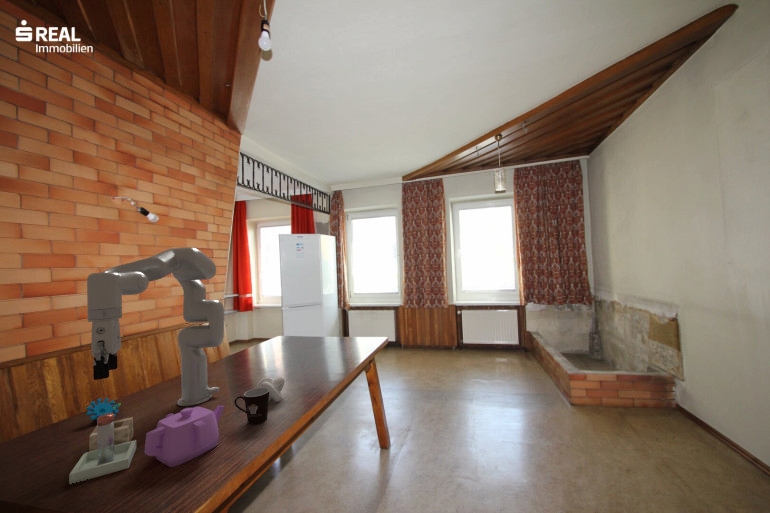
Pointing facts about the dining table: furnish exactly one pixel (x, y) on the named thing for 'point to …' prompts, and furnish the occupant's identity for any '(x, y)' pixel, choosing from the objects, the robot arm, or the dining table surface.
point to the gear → (102, 408)
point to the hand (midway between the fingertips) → (106, 374)
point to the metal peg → (105, 438)
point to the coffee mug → (255, 405)
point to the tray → (90, 469)
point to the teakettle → (184, 435)
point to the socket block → (115, 433)
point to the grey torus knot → (272, 387)
